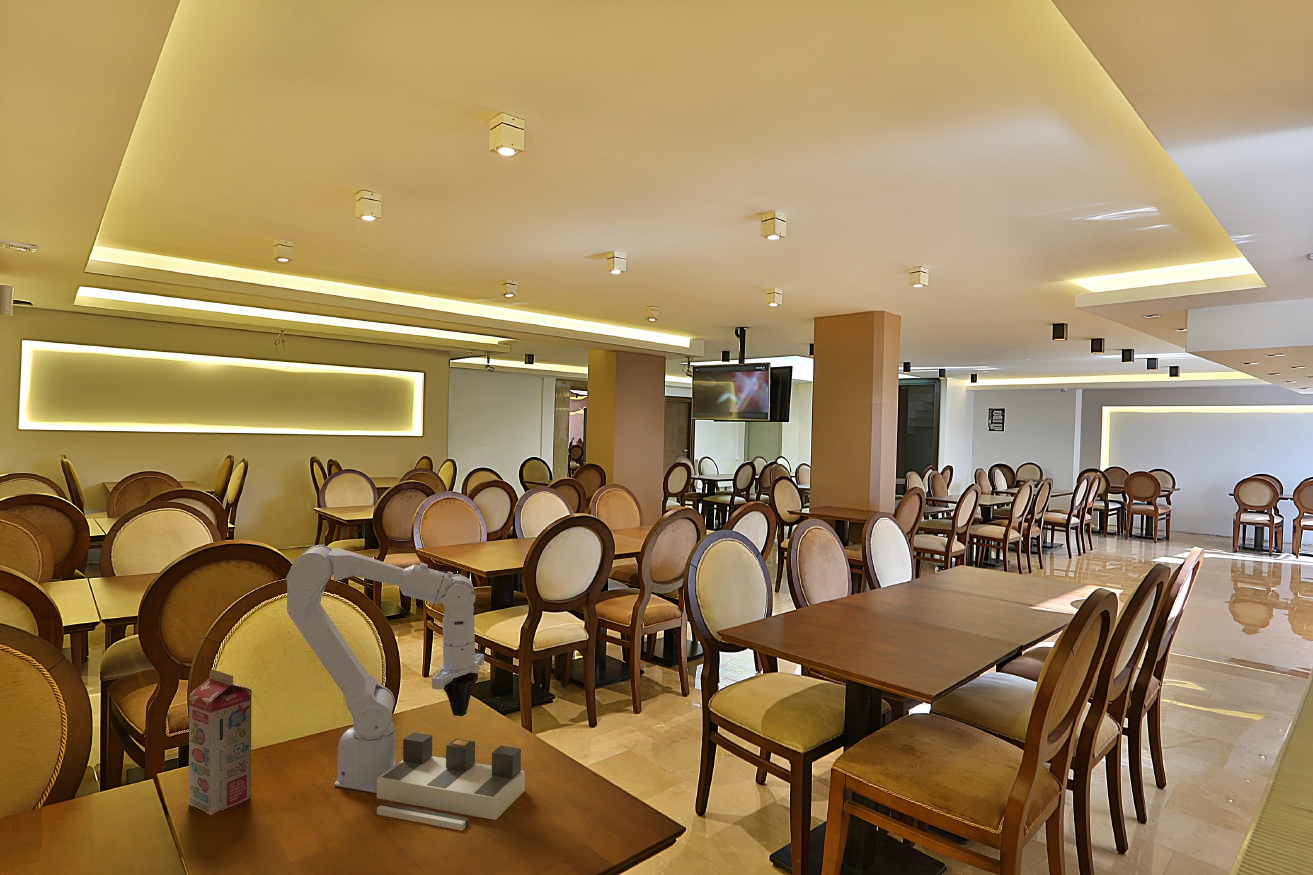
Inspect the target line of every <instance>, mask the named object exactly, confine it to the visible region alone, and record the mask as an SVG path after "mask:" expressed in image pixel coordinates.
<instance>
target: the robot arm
mask: <svg viewBox="0 0 1313 875" xmlns="http://www.w3.org/2000/svg"><path fill="white" fill-rule="evenodd" d="M428 567H429V566H428V564H427V563H424V562H420V565H419V564H412V565H410V566H408V567H405V568H403V567H400V566H396V565H394V564H391V563H387V562H385V561H381V560H378V559H376V558H373V557H369V556H367V555H366V556H365V555H363V554H360V553H357V552H353V551H351V550H347V549H343V548H339V547H333V548H331V547H329V546H327V545H324V544H317V545H313V546H311V547H308V548H306V550H304V552H303V553H302V554H301V555H299V556H297V557H296V558H295V560H294V561H293V563H292V565H291V567H290V569H289V571H288V573H287V575H286V577H285V578H286V584H287V588H286V590H287V592H286V593H287V594H286V595H287V596H286V611H287V614H288V616H289V618H290V619H291V621H292V622H293V623H294V625H295V626H296V628H297V629H298V631H299V632H300V633H301V635H302V636H303V638H304V639H305V641H306V642H307V644H308V645H309V647H310V648H311V650H312V651H313V653H314V654H315V655H316V657H317V659H318V660H319V661H320V662H321V664H322V665H323V667H324V668H325V669H326V671H327V672H328V674H329V675H330V677H331V678H332V680H333V681H334V683H335V684H336V686H337V687H338V688H339V690H340V692H342V694H343V697H344V700H345V701H344V702H345V704H346V707H347V710H348V712H349V714H350V715H351V718H352V725H353V726H352V727H350V728H348V729H347V730H345V731H344V733H343V734H342V736H341V737H340V739H339V742H338V746H337V780H335V782H334V783H333V785H334V786H336V787H341V788H346V789H352V790H357V791H362V792H368V793H373V794H377V777H379V776H380V775H382V774H383V773H384V772H386V771H387V770H389V769H390V768H392V767H393V766H395V765H396V749H397V748H396V736H397V735H396V734H397V733H396V732H397V731H396V730H397V728H396V724H395V723H394V721H393V719H392V717H393V716H392V714H393V710H394V707H395V703H396V702H395V701H396V700H395V696H394V693H393V692H392V691H391V689H389V688H387V687H386V686H384V685H382V684H380V683H379V681H378V680H377V678H376V677H374V676H373V675H371V674H369V673H368V671H367V670H366V668H365V667H364V666H363V664H362V662H361V661H360V660H359V658H358V656H356V654H355V653H354V651H353V650H352V647H351V646H350V645H349V643H348V642H347V641H346V639H345V638H344V635H343V634H342V633H341V632H340V631H339V628H338V627H337V626H336V625H335V623H334V621H333V620H332V619H331V617H330V615H329V614H328V613H327V612H326V610H325V609H324V607H323V606H322V604H321V602H322V599H323V595H324V592H325V591H326V590H325V589H326V585H327V583H328V581H329V580H331V578H332V576H333V582H337V581H340V580H343V579H347V578H350V577H359V578H361V579H366V580H371V581H375V582H379V583H384V584H387V585H388V584H389V585H393V586H396V587H398V588H399V589H400V592H401V594H402V595H403V596H406V597H410V598H414V599H418V600H421V601H425V602H428V603H432V604H436V605H438V604H439V605H440V604H442V605H443V607H444V609H443V611H444V615H443V618H442V664H443V665H442V666H441V668H440V669H439V670H438V672H437V673H436V674H435V675H434V676H432V677H431V689H432V690H443V691H445V694H446V696H447V699H448V702H449V705H450V708H451V712H452V715H453V716H456V717H464V716H465V715H467V713H468V708H469V705H470V704H469V703H470V700H471V695H472V692H473V689H474V686H475V685H476V682H477V681H478V679H479V673H477V672H479V671H480V670H481V666H483V665H485V654H483V653H476V649H475V648H476V644H475V643H476V642H475V640H476V639H475V638H476V637H475V630H476V628H475V626H476V625H475V615H474V611H475V608H474V603H475V601H476V598H477V597H476V594H475V588H474V585H473V583H472V581H471V579H469V578H468V577H466V576H464V575H462V574H461V573H455V574H454V572H451V571H447V572H442V571H440V570H435V569H433V568H428Z"/></svg>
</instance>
